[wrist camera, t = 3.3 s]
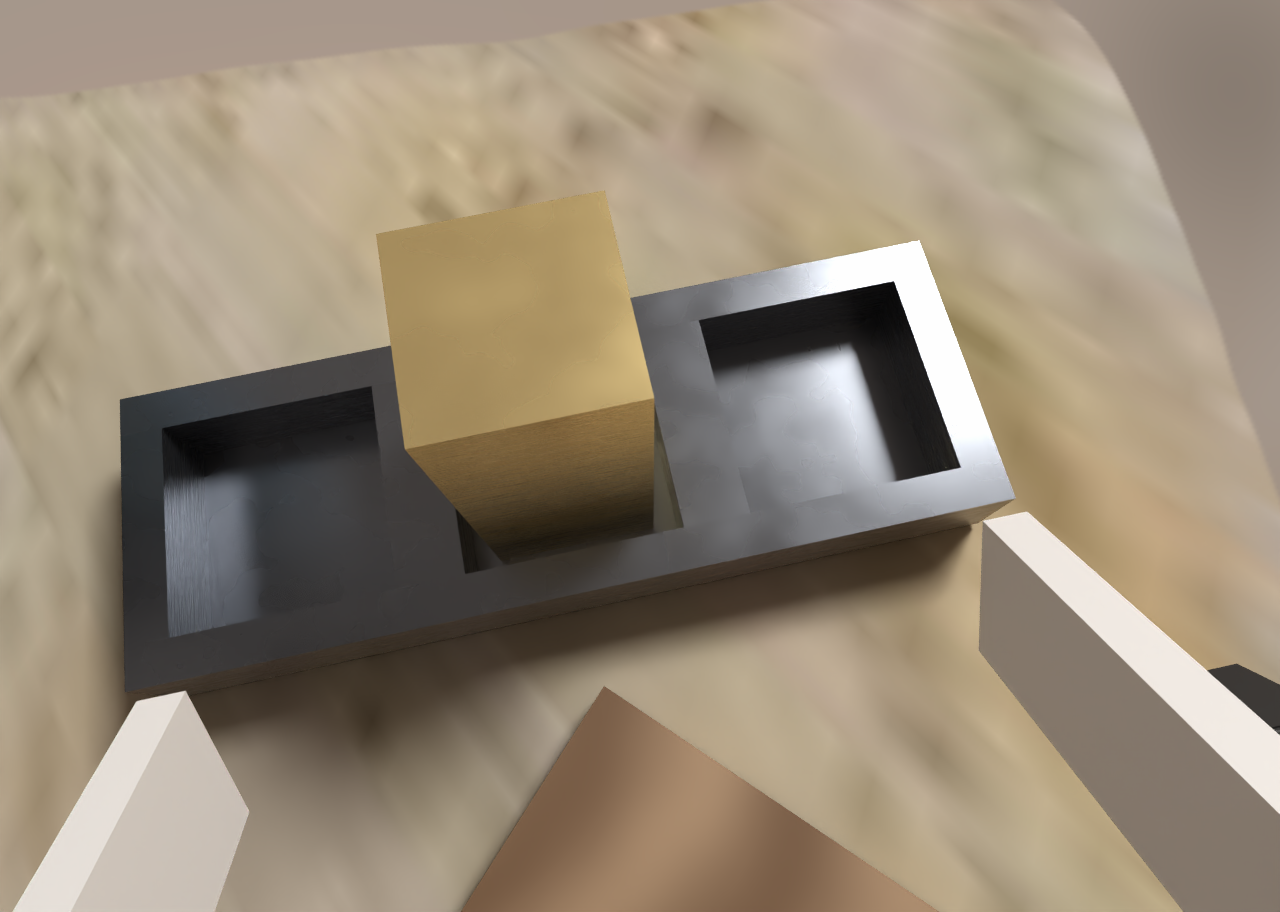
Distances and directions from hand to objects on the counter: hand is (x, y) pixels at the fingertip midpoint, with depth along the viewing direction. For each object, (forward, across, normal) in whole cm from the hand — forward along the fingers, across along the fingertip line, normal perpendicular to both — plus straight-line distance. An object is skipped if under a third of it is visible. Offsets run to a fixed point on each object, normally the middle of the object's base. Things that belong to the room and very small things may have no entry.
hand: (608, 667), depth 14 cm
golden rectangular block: (+14, -1, -3) cm, 14 cm away
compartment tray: (+14, -1, -4) cm, 15 cm away
